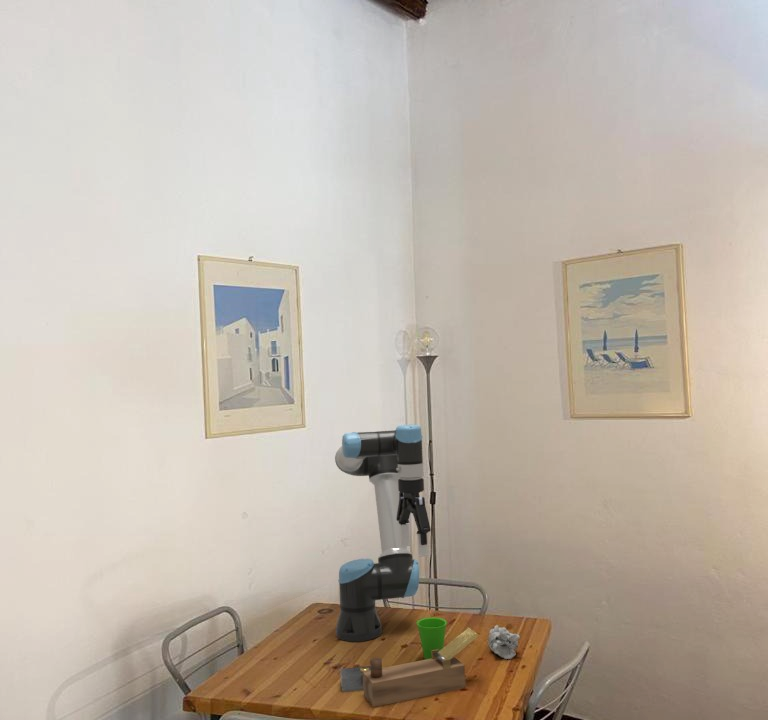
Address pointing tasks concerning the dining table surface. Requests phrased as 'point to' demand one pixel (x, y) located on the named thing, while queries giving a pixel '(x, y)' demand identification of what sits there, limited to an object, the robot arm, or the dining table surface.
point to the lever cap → (352, 678)
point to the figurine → (503, 642)
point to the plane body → (411, 679)
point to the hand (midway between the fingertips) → (414, 551)
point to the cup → (431, 634)
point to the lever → (456, 645)
